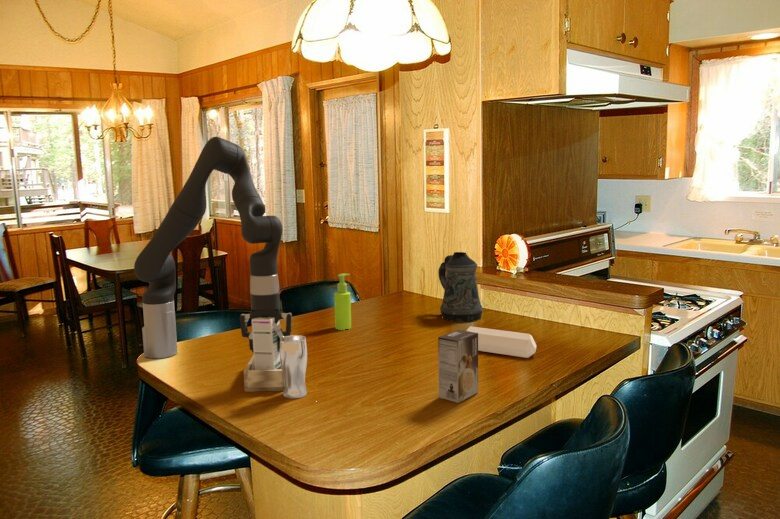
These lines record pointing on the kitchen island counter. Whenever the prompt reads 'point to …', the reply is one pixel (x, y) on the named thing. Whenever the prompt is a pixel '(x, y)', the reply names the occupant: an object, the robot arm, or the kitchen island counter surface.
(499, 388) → the kitchen island counter surface
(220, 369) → the kitchen island counter surface
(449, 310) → the beer stein
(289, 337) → the beer glass
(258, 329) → the syrup box
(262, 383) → the crate
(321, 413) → the kitchen island counter surface
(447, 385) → the coffee box
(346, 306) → the soap dispenser
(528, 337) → the crystal
